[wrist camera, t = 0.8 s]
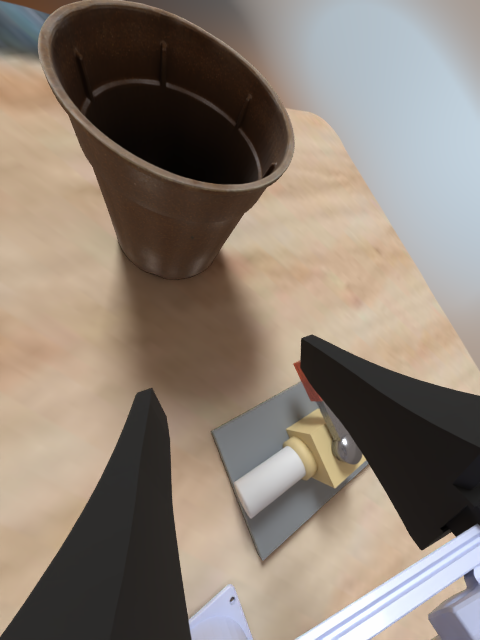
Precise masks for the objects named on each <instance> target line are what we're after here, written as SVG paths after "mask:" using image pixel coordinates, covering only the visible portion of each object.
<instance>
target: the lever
mask: <svg viewBox="0 0 480 640" xmlns="http://www.w3.org/2000/svg"><path fill="white" fill-rule="evenodd" d="M300 361H301V360H300ZM300 361H298V362H296V363H294V366H295V369H296V371H297V373H298V375H299V377H300V379H301V382H302V384H303V386H304V388H305V390H306V392H307V394H308V397H309V399H310V401H316V403H317V405H318V407H319V409H320V412H321V414H322V416H323V418H324V420H325V422H326V424H327V426H328V429H329V431H330V433H331V435H332V437H333V440H332V451H333V454H334V456H335V457H336V458H337V459H338V460H340V461H343V462H346V463H349V464H353V465H354V464H357V463H359V462H360V460H361V458H362V452H361V451H360V449H359V448H358V446H357V445H356V443H355V442H354V440H353V439H352V437H351V436H350V434H349V433H348V431H347V430H346V429H345V427H344V426H343V425H342V423H341V422H340V421H339V419H338V418H337V417H336V416H335V414H334V413H333V412H332V411H331V410H330V408H329V407H328V406H327V405H326V403H325V402H324V401H323V400H322V398H321V397H320V396H319V395H318V393H317V392H316V391H315V390H314V388H313V387H312V386H311V384H310V383H309V381H308V380H307V378H306V377H305V375H304V373H303V372H302V370H301V368H300Z"/></svg>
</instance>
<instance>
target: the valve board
mask: <svg viewBox="0 0 480 640" xmlns="http://www.w3.org/2000/svg"><path fill="white" fill-rule="evenodd" d="M211 432H212V435H213V437H214V440H215V443H216V445H217V448H218V451H219V453H220V456H221V458H222V461H223V464H224V466H225V469H226V471H227V474H228V477H229V479H230V482H231V484H232V487H233V490H234V492H235V495H236V498H237V500H238V503H239V505H240V508H241V511H242V513H243V516H244V518H245V521H246V524H247V526H248V529H249V532H250V534H251V537H252V539H253V542H254V545H255V547H256V550H257V552H258V555H259V556H260V558H261V559H262V561H263V560H264V559H266V558H267V557H268V556H269V555H270V554H271V553H272V552H273V551H274V550H275V549H276V548H278V547H279V546H280V545H281V544H282V543H283V542H284V541H285V540H286V539H287V538H288V537H289V536H291V535H292V534H293V533H294V532H295V531H296V530H297V529H298V528H299V527H300V526H301V525H303V524H304V523H305V522H306V521H307V520H308V519H309V518H310V517H311V516H312V515H313V514H314V513H316V512H317V511H318V510H319V509H320V508H321V507H322V506H323V505H324V504H325V503H326V502H328V501H329V500H330V499H331V498H332V497H333V496H334V495H335V494H336V493H337V492H338V491H339V490H341V489H342V488H343V487H344V486H345V485H346V484H347V483H348V482H349V481H350V480H351V479H353V478H354V477H355V476H356V475H357V474H358V473H359V472H360V471H361V470H362V469H363V468H365V467H366V466H367V465H368V464H369V463H368V462H367V460H366V459H365V457H364V455H363V454H362V458H361V460H360V462H359V463H357V464H354V465H353V464H349V463H346V462H343V461H340V460H338V459H337V458H336V457H335V456H334V454H333V451H332V440H333V437H332V435H331V433H330V431H329V429H328V426H327V424H326V422H325V420H324V418H323V416H322V414H321V412H320V409H319V407H318V405H317V403H316V401H310V399H309V397H308V394H307V392H306V390H305V388H304V386H303V384H302V382H299V383H297V384H295V385H293V386H292V387H290V388H288V389H286V390H284V391H283V392H281V393H279V394H277V395H275V396H274V397H272V398H270V399H268V400H266V401H265V402H263V403H261V404H259V405H257V406H256V407H254V408H252V409H250V410H248V411H247V412H245V413H243V414H241V415H239V416H238V417H236V418H234V419H232V420H230V421H229V422H227V423H225V424H223V425H221V426H220V427H218V428H216V429H214V430H212V431H211Z"/></svg>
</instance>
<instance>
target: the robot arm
mask: <svg viewBox="0 0 480 640" xmlns="http://www.w3.org/2000/svg"><path fill="white" fill-rule="evenodd" d="M300 368H301V370H302V372H303V373H304V375H305V377H306V378H307V380H308V381H309V383H310V384H311V386H312V387H313V388H314V390H315V391H316V392H317V393H318V395H319V396H320V397H321V398H322V400H323V401H324V402H325V403H326V405H327V406H328V407H329V408H330V410H331V411H332V412H333V413H334V414H335V416H336V417H337V418H338V419H339V421H340V422H341V423H342V425H343V426H344V427H345V429H346V430H347V431H348V433H349V434H350V436H351V437H352V439H353V440H354V442H355V443H356V445H357V446H358V448H359V449H360V451H361V452H362V454H363V455H364V457H365V459H366V460H367V462H368V463H369V465H370V466H371V468H372V470H373V471H374V473H375V475H376V476H377V478H378V480H379V481H380V483H381V485H382V486H383V488H384V490H385V491H386V493H387V495H388V496H389V498H390V500H391V502H392V503H393V505H394V507H395V509H396V511H397V512H398V514H399V516H400V518H401V519H402V521H403V523H404V525H405V527H406V529H407V531H408V532H409V534H410V536H411V537H412V539H413V540H414V541H415V543H416V544H417V546H418V547H419V548H420V549H421V550H424V549H425V548H427V547H428V546H430V545H432V544H433V543H435V542H436V541H438V540H440V539H441V538H443V537H444V536H446V535H448V534H449V533H451V532H452V533H453V534H454V535H455V536H456V537H455V538H454V539H452V540H451V541H449V542H448V543H446V544H444V545H443V546H441V547H440V548H438V549H437V550H435V551H433V552H432V553H430V554H429V555H427V556H426V557H424V558H422V559H421V560H419V561H418V562H416V563H414V564H413V565H411V566H410V567H408V568H407V569H405V570H403V571H402V572H400V573H399V574H397V575H396V576H394V577H392V578H391V579H389V580H388V581H386V582H385V583H383V584H381V585H380V586H378V587H377V588H375V589H374V590H372V591H370V592H369V593H367V594H366V595H364V596H362V597H361V598H359V599H358V600H356V601H355V602H353V603H351V604H350V605H348V606H347V607H345V608H344V609H342V610H340V611H339V612H337V613H336V614H334V615H333V616H331V617H329V618H328V619H326V620H325V621H323V622H322V623H320V624H318V625H317V626H315V627H314V628H312V629H310V630H309V631H307V632H306V633H304V634H303V635H301V636H299V637H298V638H296V639H295V640H370V639H372V638H373V637H375V636H376V635H378V634H379V633H380V632H382V631H383V630H385V629H386V628H388V627H389V626H391V625H392V624H394V623H395V622H396V621H398V620H399V619H401V618H402V617H404V616H405V615H407V614H408V613H410V612H411V611H412V610H414V609H415V608H417V607H418V606H420V605H421V604H423V603H424V602H426V601H427V600H428V599H430V598H431V597H433V596H434V595H436V594H437V593H439V592H440V591H442V590H443V589H445V588H446V587H447V586H449V585H450V584H452V583H453V582H455V581H456V580H458V579H459V578H461V577H462V576H463V575H464V579H465V582H466V585H467V588H466V589H465V590H463V591H461V592H459V593H457V594H455V595H453V596H451V597H450V598H448V599H446V600H445V601H444V602H442V603H441V604H440V605H439V606H437V607H436V608H435V609H434V610H433V611H432V612H431V613H429V614H428V619H429V621H430V622H431V624H432V625H433V627H434V629H435V630H436V632H437V633H438V635H437V636H436V637H434V638H433V639H431V640H480V396H478V395H474V394H469V393H465V392H461V391H456V390H453V389H449V388H445V387H441V386H438V385H434V384H431V383H427V382H424V381H420V380H417V379H414V378H411V377H408V376H405V375H402V374H400V373H397V372H394V371H391V370H388V369H386V368H383V367H381V366H378V365H376V364H374V363H371V362H369V361H367V360H364V359H362V358H360V357H358V356H355V355H353V354H351V353H349V352H347V351H345V350H343V349H341V348H339V347H337V346H335V345H333V344H331V343H329V342H327V341H325V340H323V339H321V338H319V337H317V336H314V335H309V336H306V337H303V338H301V361H300ZM231 597H234V599H233V601H231V602H230V599H231ZM0 640H253V638H252V635H251V632H250V629H249V627H248V624H247V621H246V618H245V615H244V613H243V610H242V607H241V604H240V602H239V599H238V596H237V593H236V590H235V588H234V586H233V585H232V584H228V585H227V586H226V587H225V588H224V589H222V590H221V591H220V592H219V593H218V594H217V595H216V596H215V597H214V598H212V599H211V600H210V601H209V602H208V603H207V604H206V605H205V606H204V607H202V608H201V609H200V610H199V611H198V612H197V613H196V614H195V615H194V616H192V617H191V618H190V619H189V620H188V614H187V608H186V602H185V595H184V588H183V582H182V575H181V568H180V561H179V554H178V546H177V539H176V531H175V523H174V515H173V505H172V485H171V455H170V437H169V430H168V423H167V417H166V415H165V413H164V411H163V409H162V407H161V405H160V403H159V401H158V399H157V397H156V395H155V393H154V391H153V389H152V388H150V389H147V390H144V391H141V392H138V393H137V394H136V396H135V399H134V401H133V404H132V407H131V410H130V412H129V415H128V418H127V420H126V423H125V425H124V428H123V430H122V433H121V435H120V437H119V440H118V442H117V445H116V447H115V449H114V451H113V453H112V455H111V458H110V460H109V462H108V464H107V466H106V468H105V470H104V472H103V474H102V476H101V478H100V480H99V482H98V484H97V486H96V488H95V490H94V492H93V494H92V495H91V497H90V499H89V501H88V503H87V504H86V506H85V508H84V510H83V511H82V513H81V515H80V517H79V518H78V520H77V522H76V523H75V525H74V527H73V528H72V530H71V532H70V533H69V535H68V537H67V538H66V540H65V542H64V543H63V545H62V546H61V548H60V550H59V551H58V553H57V554H56V556H55V558H54V559H53V561H52V562H51V564H50V565H49V567H48V568H47V570H46V571H45V573H44V574H43V576H42V577H41V579H40V580H39V582H38V583H37V585H36V586H35V588H34V589H33V591H32V592H31V594H30V595H29V597H28V598H27V600H26V601H25V603H24V604H23V606H22V607H21V608H20V610H19V611H18V613H17V614H16V616H15V617H14V619H13V620H12V621H11V623H10V624H9V625H8V627H7V628H6V630H5V631H4V632H3V634H2V635H1V637H0Z"/></svg>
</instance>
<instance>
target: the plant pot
mask: <svg viewBox="0 0 480 640" xmlns="http://www.w3.org/2000/svg"><path fill="white" fill-rule="evenodd" d="M38 53H39V59H40V62H41V65H42V68H43V71H44V73H45V76H46V78H47V81H48V83H49V85H50V87H51V89H52V91H53V93H54V95H55V96H56V98H57V100H58V102H59V103H60V105H61V106H62V107H63V109H64V110H65V111H66V113H67V114H68V115H69V118H70V120H71V123H72V125H73V128H74V131H75V133H76V136H77V138H78V141H79V143H80V146H81V148H82V150H83V152H84V154H85V156H86V158H87V159H88V161H89V162H90V164H91V165H92V167H93V169H94V172H95V175H96V178H97V181H98V183H99V186H100V189H101V192H102V195H103V197H104V200H105V203H106V205H107V208H108V211H109V214H110V217H111V220H112V223H113V226H114V229H115V232H116V235H117V238H118V241H119V244H120V246H121V248H122V250H123V252H124V253H125V254H126V256H127V257H128V258H129V259H130V260H131V261H132V262H133V263H134V264H135V265H136V266H137V267H139V268H140V269H142V270H144V271H145V272H150V273H153V274H156V275H158V276H161V277H162V278H165V279H183V278H188V277H192V276H195V275H197V274H199V273H201V272H202V271H204V270H205V269H206V268H208V267H209V265H210V264H211V263H212V262H213V260H214V258H215V257H216V255H217V253H218V252H219V250H220V249H221V247H222V246H223V244H224V243H225V241H226V240H227V238H228V237H229V235H230V234H231V232H232V231H233V229H234V228H235V227H236V225H237V224H238V222H239V221H240V219H241V218H242V216H243V215H244V213H245V212H247V211H248V210H249V209H250V208H252V206H253V205H254V204H255V203H256V202H257V200H258V199H259V198H260V196H261V195H262V193H263V192H264V190H265V189H266V188H267V187H268V186H270V185H272V184H273V183H274V182H276V181H277V180H278V179H279V178H280V177H281V176H282V174H283V173H284V172H285V171H286V169H287V168H288V166H289V164H290V162H291V160H292V157H293V153H294V145H295V142H294V133H293V128H292V124H291V121H290V118H289V115H288V113H287V111H286V109H285V107H284V106H283V104H282V102H281V100H280V99H279V97H278V95H277V94H276V93H275V91H274V90H273V88H272V87H271V86H270V84H269V83H268V82H267V80H266V79H265V78H264V77H263V76H262V75H261V74H260V73H259V71H258V70H257V69H256V68H255V67H254V66H252V64H250V63H249V62H248V61H247V60H246V59H245V58H243V57H242V56H241V55H240V54H239V53H238V52H236V51H235V50H234V49H232V48H231V47H229V46H228V45H227V44H225V43H224V42H223V41H221V40H220V39H218V38H216V37H215V36H213V35H211V34H210V33H208V32H207V31H205V30H203V29H202V28H200V27H198V26H196V25H194V24H193V23H191V22H189V21H187V20H185V19H183V18H181V17H179V16H176V15H174V14H172V13H169V12H166V11H164V10H161V9H158V8H155V7H151V6H147V5H144V4H140V3H135V2H129V1H123V0H83V1H79V2H74V3H71V4H68V5H65V6H62V7H60V8H59V9H57V10H56V11H54V12H53V13H52V14H51V15H50V16H49V17H48V18H47V19H46V21H45V23H44V24H43V26H42V28H41V31H40V34H39V39H38Z"/></svg>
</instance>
